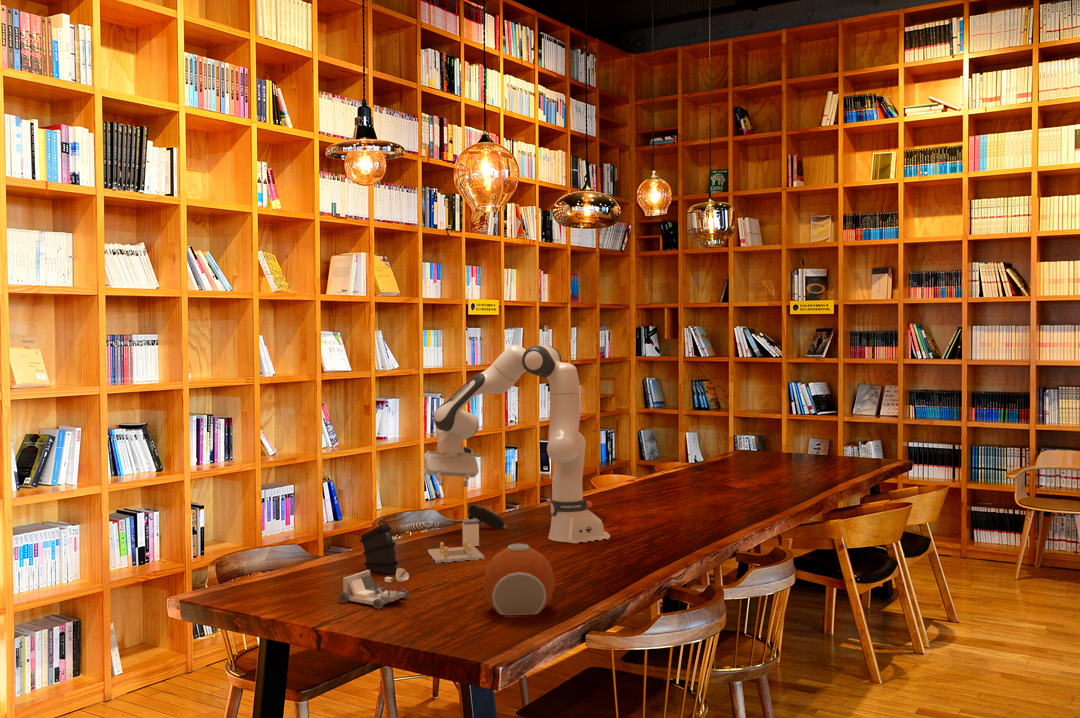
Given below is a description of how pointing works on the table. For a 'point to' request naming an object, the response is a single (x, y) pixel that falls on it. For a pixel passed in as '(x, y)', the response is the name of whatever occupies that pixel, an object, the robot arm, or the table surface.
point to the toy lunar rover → (372, 589)
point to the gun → (486, 517)
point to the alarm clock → (518, 581)
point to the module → (471, 532)
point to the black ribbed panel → (379, 550)
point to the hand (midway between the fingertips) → (453, 485)
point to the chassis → (455, 553)
